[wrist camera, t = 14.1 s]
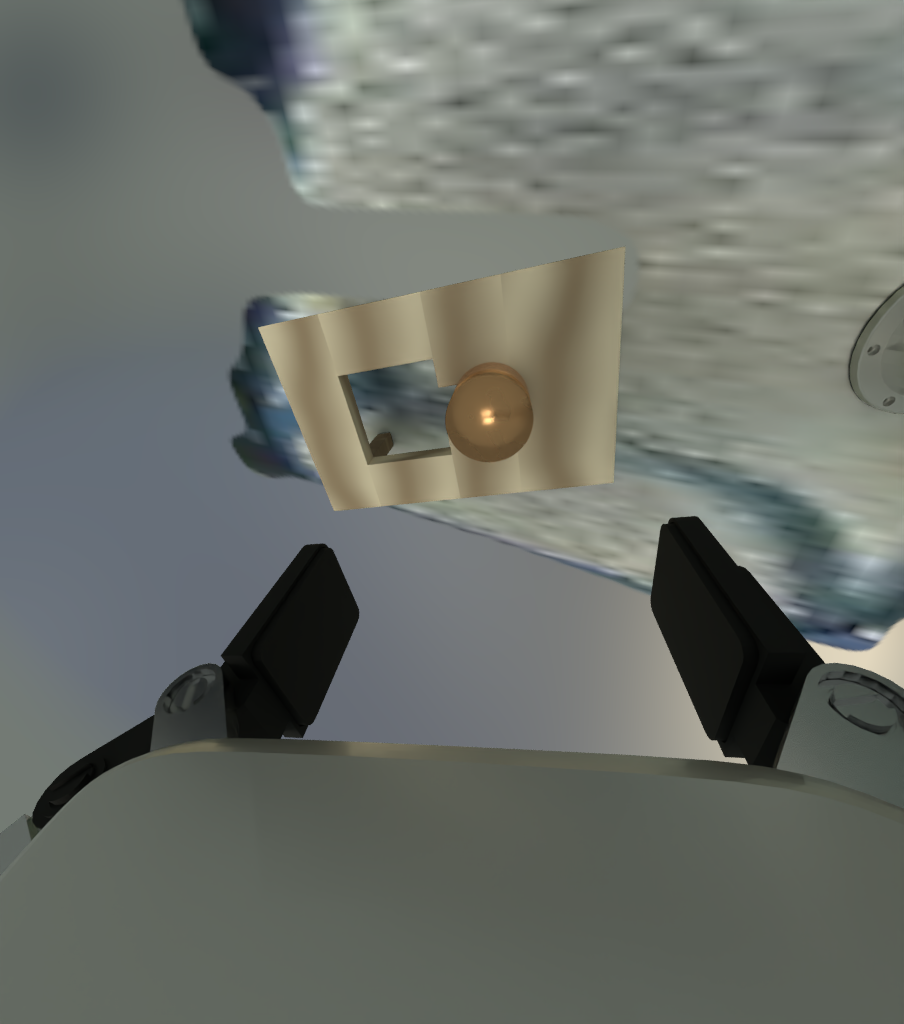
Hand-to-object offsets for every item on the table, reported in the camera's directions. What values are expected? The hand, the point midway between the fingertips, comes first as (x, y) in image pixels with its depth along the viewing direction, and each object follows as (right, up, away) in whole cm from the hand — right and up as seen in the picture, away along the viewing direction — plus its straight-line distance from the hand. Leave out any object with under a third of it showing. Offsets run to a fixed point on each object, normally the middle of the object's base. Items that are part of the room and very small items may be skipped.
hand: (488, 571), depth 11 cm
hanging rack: (0, +16, +26) cm, 31 cm away
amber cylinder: (+3, +14, +22) cm, 26 cm away
